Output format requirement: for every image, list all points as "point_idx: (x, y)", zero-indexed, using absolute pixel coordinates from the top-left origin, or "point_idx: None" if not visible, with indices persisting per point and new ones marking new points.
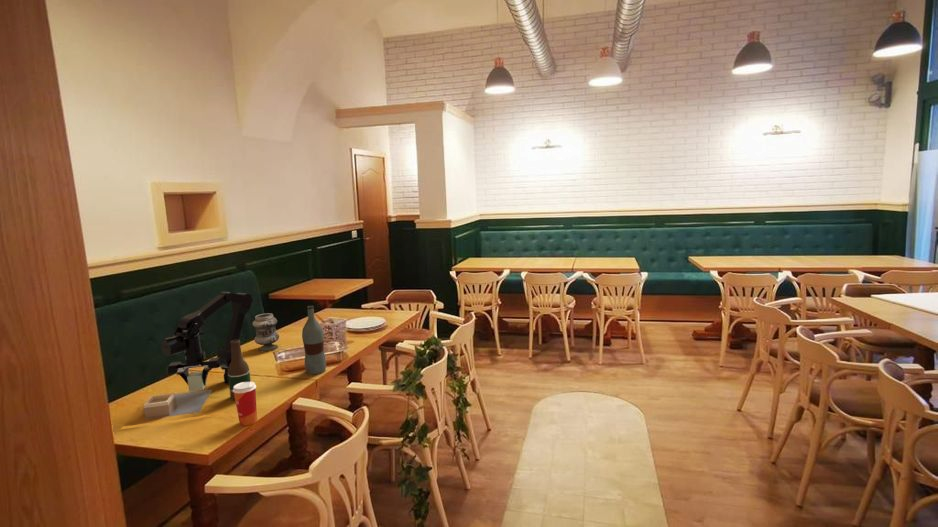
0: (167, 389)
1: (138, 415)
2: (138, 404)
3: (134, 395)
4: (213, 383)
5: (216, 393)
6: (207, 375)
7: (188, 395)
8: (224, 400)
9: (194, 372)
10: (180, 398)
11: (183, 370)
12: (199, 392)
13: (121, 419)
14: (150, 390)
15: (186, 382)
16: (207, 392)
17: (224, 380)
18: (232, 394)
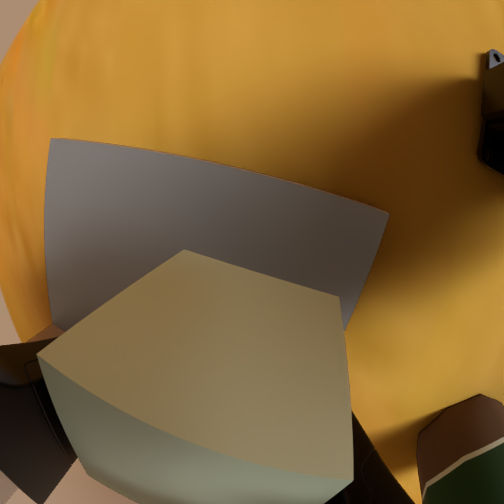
0: (86, 7)
1: (32, 312)
2: (3, 176)
3: (4, 59)
4: (381, 7)
5: (399, 275)
6: (371, 460)
7: (178, 237)
8: (397, 416)
9: (112, 424)
10: (132, 264)
11: (6, 499)
12: (266, 220)
13: (8, 305)
14: (40, 13)
15: None
16: (335, 269)
17: (498, 116)
18: (420, 480)
